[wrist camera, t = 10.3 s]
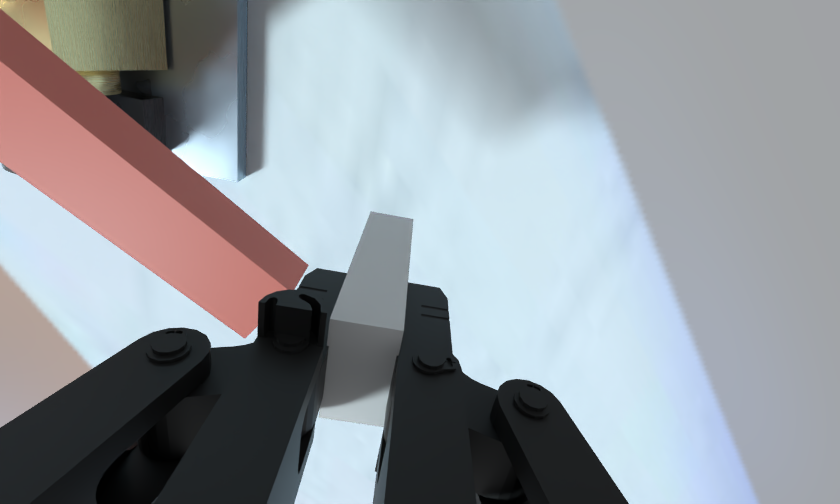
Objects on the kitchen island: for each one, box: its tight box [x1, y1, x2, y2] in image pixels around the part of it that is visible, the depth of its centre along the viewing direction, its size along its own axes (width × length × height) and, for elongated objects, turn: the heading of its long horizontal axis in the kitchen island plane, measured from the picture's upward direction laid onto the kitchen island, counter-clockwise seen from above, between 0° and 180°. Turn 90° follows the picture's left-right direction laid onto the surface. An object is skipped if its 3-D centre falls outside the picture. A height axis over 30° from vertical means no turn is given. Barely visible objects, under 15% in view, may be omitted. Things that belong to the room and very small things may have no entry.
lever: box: [0, 9, 308, 338], centre depth 12 cm, size 17×3×4 cm, turn 44°
